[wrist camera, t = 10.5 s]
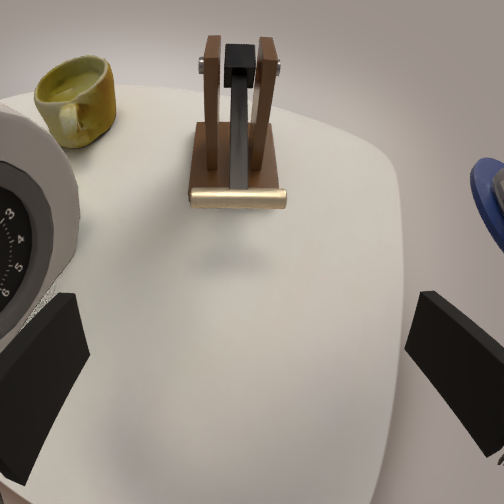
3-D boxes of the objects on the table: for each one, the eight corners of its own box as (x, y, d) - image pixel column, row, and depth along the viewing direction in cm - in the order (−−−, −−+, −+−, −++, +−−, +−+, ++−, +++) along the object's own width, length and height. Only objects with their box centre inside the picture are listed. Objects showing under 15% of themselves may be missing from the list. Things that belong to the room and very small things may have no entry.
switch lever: (281, 214, 19) (289, 201, 17) (192, 213, 19) (188, 200, 16) (272, 66, 22) (276, 46, 19) (204, 64, 21) (203, 43, 19)
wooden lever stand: (278, 202, 28) (307, 82, 16) (189, 202, 27) (174, 78, 16) (269, 131, 32) (286, 28, 21) (197, 130, 32) (193, 25, 20)
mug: (50, 102, 31) (46, 47, 22) (118, 102, 36) (128, 47, 27) (29, 177, 28) (11, 124, 19) (108, 177, 32) (112, 122, 24)
